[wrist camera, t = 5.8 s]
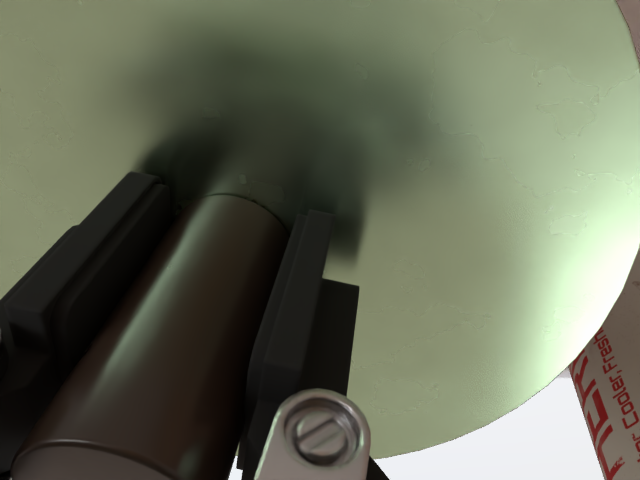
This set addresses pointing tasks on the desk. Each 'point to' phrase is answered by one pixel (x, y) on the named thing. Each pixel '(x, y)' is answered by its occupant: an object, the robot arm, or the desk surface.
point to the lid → (321, 204)
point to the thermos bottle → (614, 384)
